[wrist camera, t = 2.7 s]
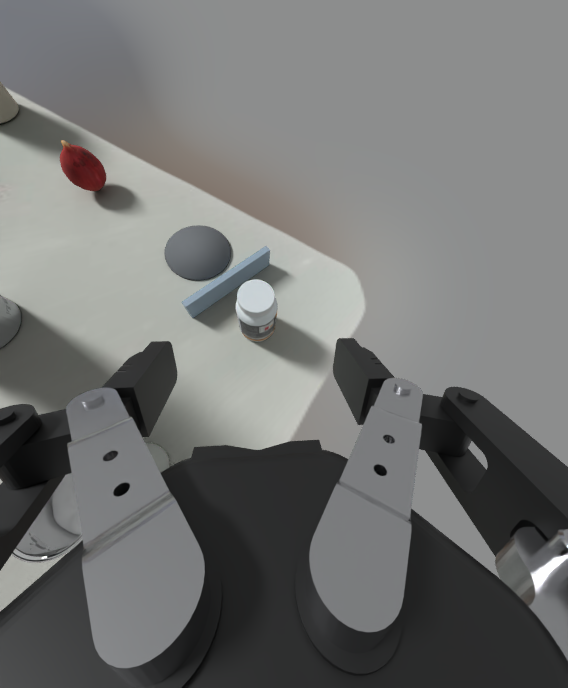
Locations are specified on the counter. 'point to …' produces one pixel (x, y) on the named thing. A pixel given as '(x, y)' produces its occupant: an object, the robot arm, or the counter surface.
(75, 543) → the beer glass
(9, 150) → the counter surface
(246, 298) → the pill bottle
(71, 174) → the onion
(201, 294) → the divider wall
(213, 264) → the mat
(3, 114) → the travel mug
